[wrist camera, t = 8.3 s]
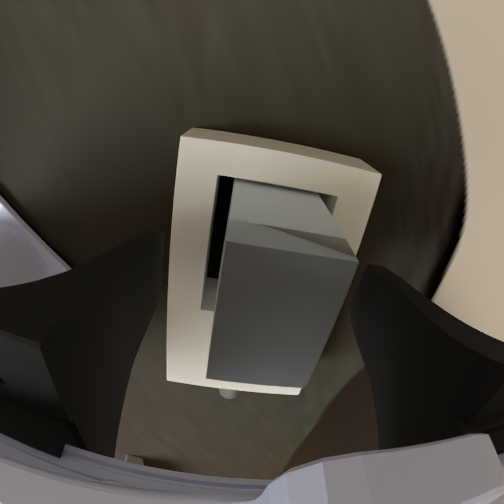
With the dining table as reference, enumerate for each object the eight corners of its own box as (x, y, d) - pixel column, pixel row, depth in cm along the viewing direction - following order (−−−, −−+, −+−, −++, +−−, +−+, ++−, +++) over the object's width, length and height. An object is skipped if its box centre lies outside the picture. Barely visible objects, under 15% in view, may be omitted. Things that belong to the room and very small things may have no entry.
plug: (284, 269, 15) (305, 388, 9) (221, 259, 15) (205, 378, 9) (307, 177, 13) (359, 262, 7) (236, 164, 13) (226, 241, 7)
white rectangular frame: (283, 386, 20) (287, 425, 17) (173, 373, 19) (165, 412, 16) (360, 159, 13) (388, 179, 10) (193, 127, 12) (176, 138, 9)
